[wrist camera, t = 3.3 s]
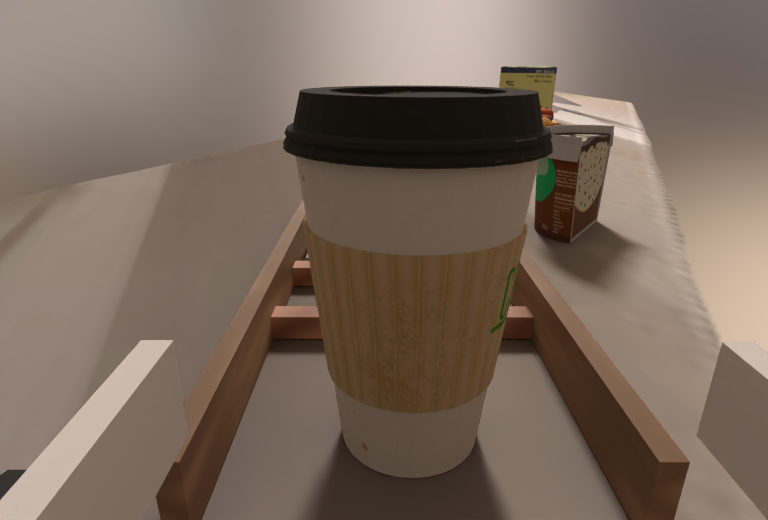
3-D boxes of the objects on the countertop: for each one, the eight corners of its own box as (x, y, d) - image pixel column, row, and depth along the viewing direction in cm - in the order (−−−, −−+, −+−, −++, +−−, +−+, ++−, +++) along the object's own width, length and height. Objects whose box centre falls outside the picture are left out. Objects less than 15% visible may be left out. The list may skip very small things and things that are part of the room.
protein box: (551, 124, 147) (557, 66, 141) (496, 122, 149) (500, 66, 144) (547, 120, 156) (553, 66, 151) (495, 119, 159) (500, 66, 153)
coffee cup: (546, 409, 25) (591, 89, 20) (458, 560, 17) (493, 104, 12) (380, 351, 30) (380, 83, 25) (256, 448, 22) (217, 91, 17)
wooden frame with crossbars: (164, 540, 18) (136, 399, 16) (310, 219, 55) (308, 164, 53) (668, 539, 18) (706, 399, 16) (475, 220, 56) (479, 165, 53)
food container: (546, 209, 60) (556, 121, 56) (600, 217, 57) (615, 125, 53) (503, 235, 51) (512, 132, 47) (565, 247, 47) (580, 138, 44)
